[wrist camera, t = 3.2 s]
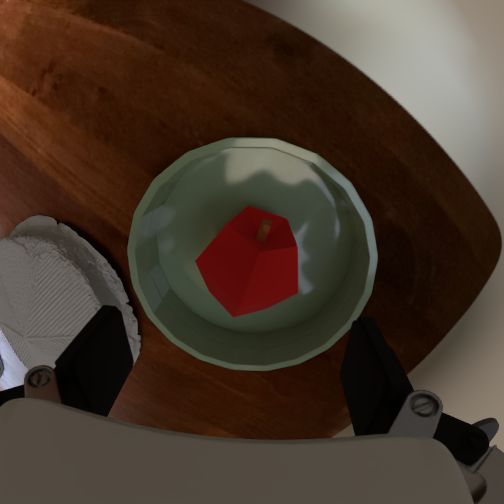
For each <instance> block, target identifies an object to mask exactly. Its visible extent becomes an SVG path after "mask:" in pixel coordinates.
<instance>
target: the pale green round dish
mask: <svg viewBox="0 0 504 504" xmlns="http://www.w3.org/2000/svg"><path fill="white" fill-rule="evenodd" d="M247 206H250V207H254V208H257V209H260V210H263V211H266V212H269V213H272V214H275V215H278V216H281V217H284V218H287V219H288V222H289V225H290V227H291V230H292V232H293V235H294V238H295V240H296V243H297V246H298V293H297V294H295V295H293V296H291V297H289V298H287V299H285V300H283V301H281V302H279V303H277V304H275V305H273V306H271V307H269V308H267V309H264V310H261V311H257V312H253V313H249V314H245V315H241V316H237V317H232V316H231V314H230V313H229V312H228V311H227V310H226V309H225V308H224V307H223V306H222V305H221V304H220V303H219V302H218V301H217V300H216V299H215V297H214V296H213V295H212V294H211V293H210V292H209V290H208V288H207V286H206V284H205V282H204V280H203V277H202V275H201V273H200V271H199V269H198V266H197V264H196V262H195V260H196V259H197V258H198V257H199V256H200V254H201V253H202V252H203V251H204V250H205V248H206V247H207V246H208V245H209V244H210V243H211V241H212V240H213V239H214V238H215V237H216V236H217V234H218V233H219V232H220V231H221V230H222V229H223V228H224V226H225V225H226V224H227V223H228V222H229V221H231V220H232V219H233V218H234V217H235V216H236V215H238V214H239V213H240V212H241V211H242V210H243V209H245V208H246V207H247ZM127 249H128V250H127V253H128V261H129V268H130V274H131V281H132V285H133V288H134V290H135V292H136V294H137V296H138V298H139V300H140V302H141V304H142V306H143V308H144V310H145V312H146V314H147V316H148V317H149V319H150V320H151V321H152V322H153V323H154V324H155V325H156V326H157V327H158V328H159V330H160V331H161V332H162V333H163V334H164V335H165V336H166V337H167V338H168V339H169V340H170V341H171V342H172V343H174V344H175V345H177V346H178V347H180V348H181V349H183V350H185V351H186V352H188V353H189V354H191V355H193V356H194V357H196V358H198V359H200V360H203V361H206V362H209V363H212V364H215V365H219V366H222V367H225V368H229V369H233V370H251V371H265V370H266V371H268V370H273V369H278V368H283V367H287V366H292V365H296V364H298V363H299V364H300V363H302V362H304V361H306V360H308V359H310V358H312V357H314V356H316V355H317V354H319V353H321V352H323V351H325V350H327V349H329V348H330V347H331V346H332V345H333V344H334V343H335V342H337V341H338V340H339V339H340V338H341V337H342V336H343V335H344V334H345V333H346V332H347V331H348V330H349V329H350V328H351V326H352V322H353V321H354V320H357V318H358V317H359V315H360V314H361V312H362V310H363V308H364V306H365V305H366V303H367V301H368V299H369V297H370V295H371V293H372V288H373V283H374V278H375V272H376V267H377V261H378V253H377V247H376V240H375V234H374V228H373V223H372V219H371V217H370V215H369V213H368V211H367V209H366V207H365V206H364V204H363V202H362V200H361V198H360V197H359V195H358V193H357V191H356V190H355V188H354V186H353V184H352V183H351V182H350V181H349V180H348V179H347V178H346V177H344V176H343V175H342V174H341V173H340V172H339V171H337V170H336V169H335V168H334V167H333V166H332V165H330V164H329V163H328V162H327V161H326V160H324V159H323V158H322V157H321V156H320V155H318V154H316V153H314V152H311V151H309V150H306V149H304V148H301V147H298V146H296V145H293V144H290V143H287V142H285V141H282V140H279V139H276V138H251V137H230V138H226V139H223V140H220V141H217V142H214V143H211V144H208V145H205V146H202V147H199V148H197V149H194V150H191V151H188V152H187V153H185V154H184V155H182V156H181V157H180V158H179V159H177V160H176V161H175V162H174V163H172V164H171V165H170V166H169V167H168V168H166V169H165V170H164V171H163V172H162V173H160V174H159V175H158V176H157V177H156V178H155V179H154V180H153V181H152V183H151V184H150V186H149V188H148V189H147V191H146V193H145V194H144V196H143V198H142V200H141V201H140V203H139V205H138V207H137V208H136V210H135V212H134V215H133V220H132V225H131V230H130V236H129V241H128V247H127Z"/></svg>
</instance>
